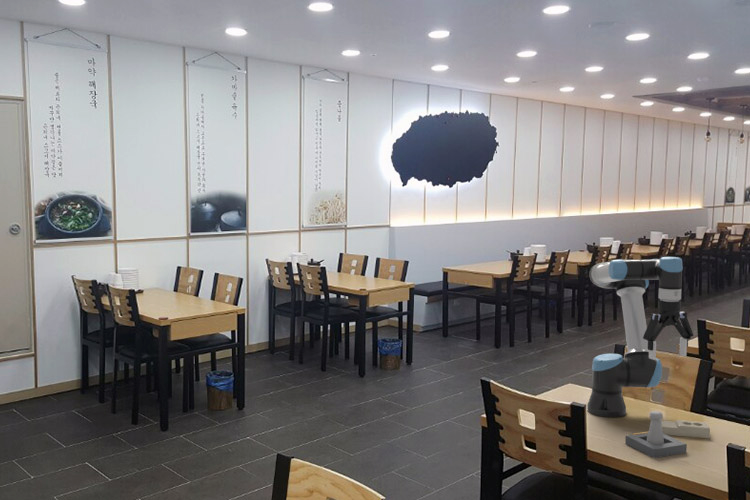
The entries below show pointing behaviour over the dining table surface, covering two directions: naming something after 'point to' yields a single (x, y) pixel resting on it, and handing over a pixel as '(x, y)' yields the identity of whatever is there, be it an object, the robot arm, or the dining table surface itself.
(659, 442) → the salt shaker
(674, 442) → the caddy block
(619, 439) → the dining table surface
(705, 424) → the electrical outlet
